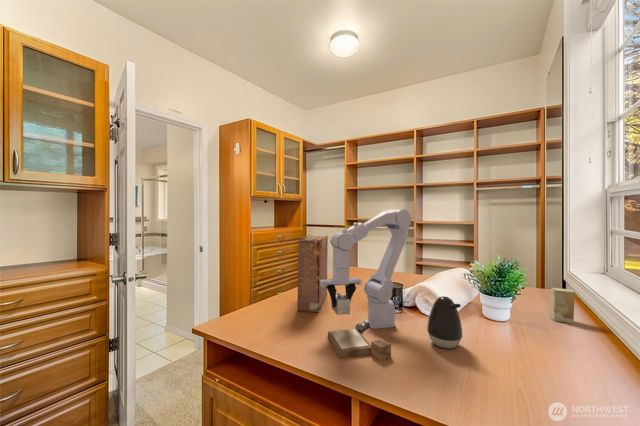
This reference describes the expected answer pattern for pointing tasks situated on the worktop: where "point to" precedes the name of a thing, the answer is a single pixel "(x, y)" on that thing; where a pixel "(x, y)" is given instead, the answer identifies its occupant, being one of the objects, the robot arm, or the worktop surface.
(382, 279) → the robot arm
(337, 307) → the housing
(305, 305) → the book
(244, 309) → the worktop surface
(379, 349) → the walnut block
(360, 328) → the loose bolt
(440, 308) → the pump dispenser
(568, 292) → the skincare box
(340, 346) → the stand
